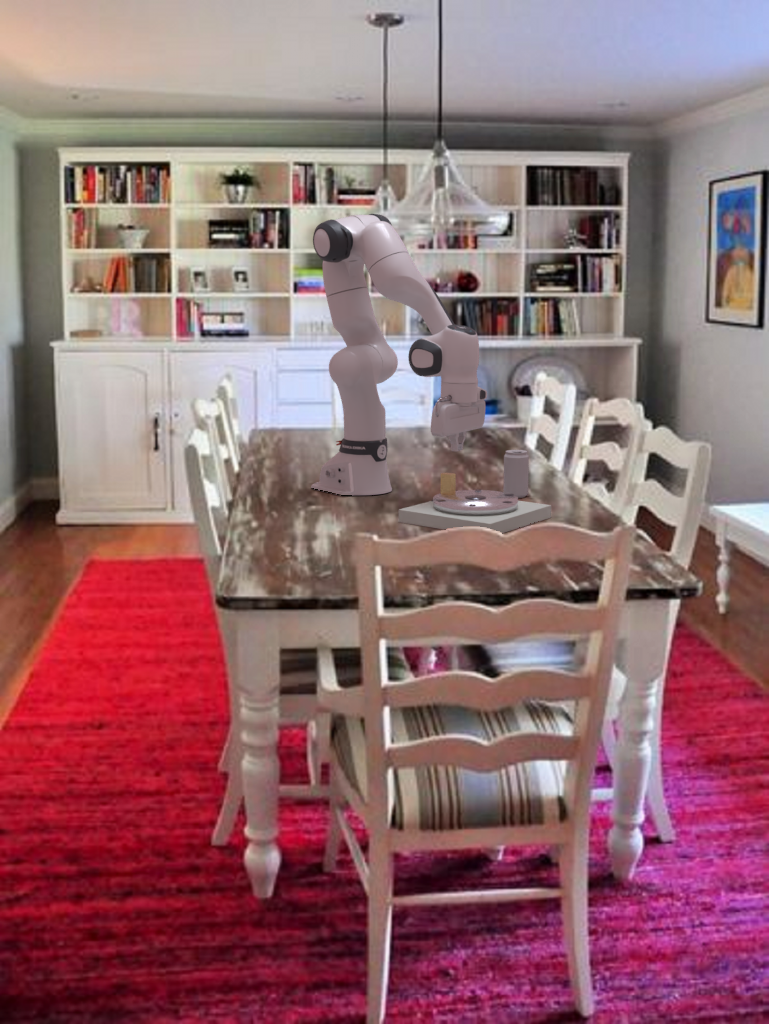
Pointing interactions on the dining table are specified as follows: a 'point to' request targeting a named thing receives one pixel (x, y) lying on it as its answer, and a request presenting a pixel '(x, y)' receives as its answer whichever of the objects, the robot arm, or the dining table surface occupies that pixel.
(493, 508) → the turntable disc
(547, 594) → the dining table surface
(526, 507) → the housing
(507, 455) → the beverage can
